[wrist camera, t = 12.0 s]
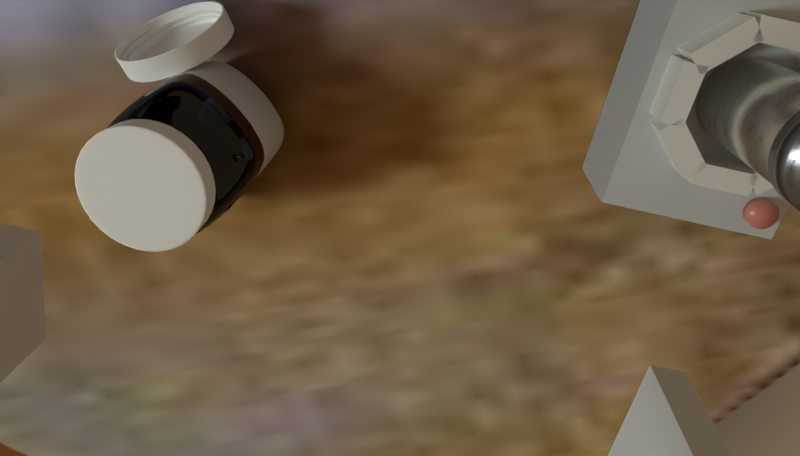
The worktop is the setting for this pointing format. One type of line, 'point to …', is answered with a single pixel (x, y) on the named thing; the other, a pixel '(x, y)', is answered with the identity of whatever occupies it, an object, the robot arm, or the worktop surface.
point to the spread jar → (177, 135)
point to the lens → (756, 119)
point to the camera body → (687, 113)
